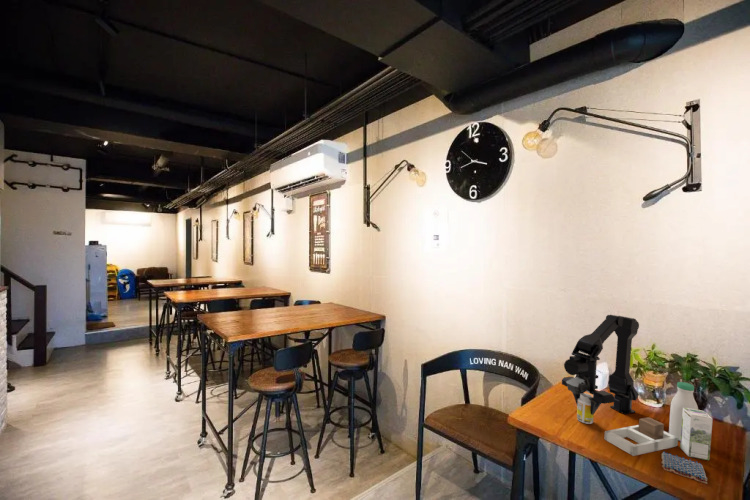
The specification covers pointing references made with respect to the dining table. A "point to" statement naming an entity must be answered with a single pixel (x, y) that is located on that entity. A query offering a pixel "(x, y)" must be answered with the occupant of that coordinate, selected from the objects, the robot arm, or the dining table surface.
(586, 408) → the supplement bottle
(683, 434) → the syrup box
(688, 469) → the woven mat
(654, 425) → the walnut block
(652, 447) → the grey divided tray
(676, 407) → the milk bottle
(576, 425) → the dining table surface
